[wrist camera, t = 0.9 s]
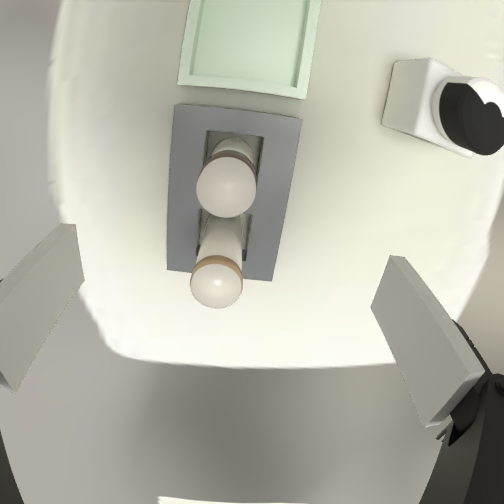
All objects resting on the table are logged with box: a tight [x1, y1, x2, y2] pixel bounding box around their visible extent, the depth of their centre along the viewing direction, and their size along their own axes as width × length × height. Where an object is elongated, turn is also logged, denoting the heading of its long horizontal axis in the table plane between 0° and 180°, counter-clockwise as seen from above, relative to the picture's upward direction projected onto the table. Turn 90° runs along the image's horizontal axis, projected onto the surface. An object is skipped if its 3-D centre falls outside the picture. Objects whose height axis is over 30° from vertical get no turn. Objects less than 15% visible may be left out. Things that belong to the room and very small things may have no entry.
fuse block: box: [167, 104, 302, 281], centre depth 32 cm, size 18×12×2 cm, turn 172°
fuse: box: [190, 214, 243, 308], centre depth 29 cm, size 4×4×12 cm
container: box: [382, 58, 504, 158], centre depth 22 cm, size 8×8×13 cm
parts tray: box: [177, 0, 321, 100], centre depth 23 cm, size 14×12×2 cm
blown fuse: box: [196, 137, 257, 218], centre depth 26 cm, size 4×4×12 cm
